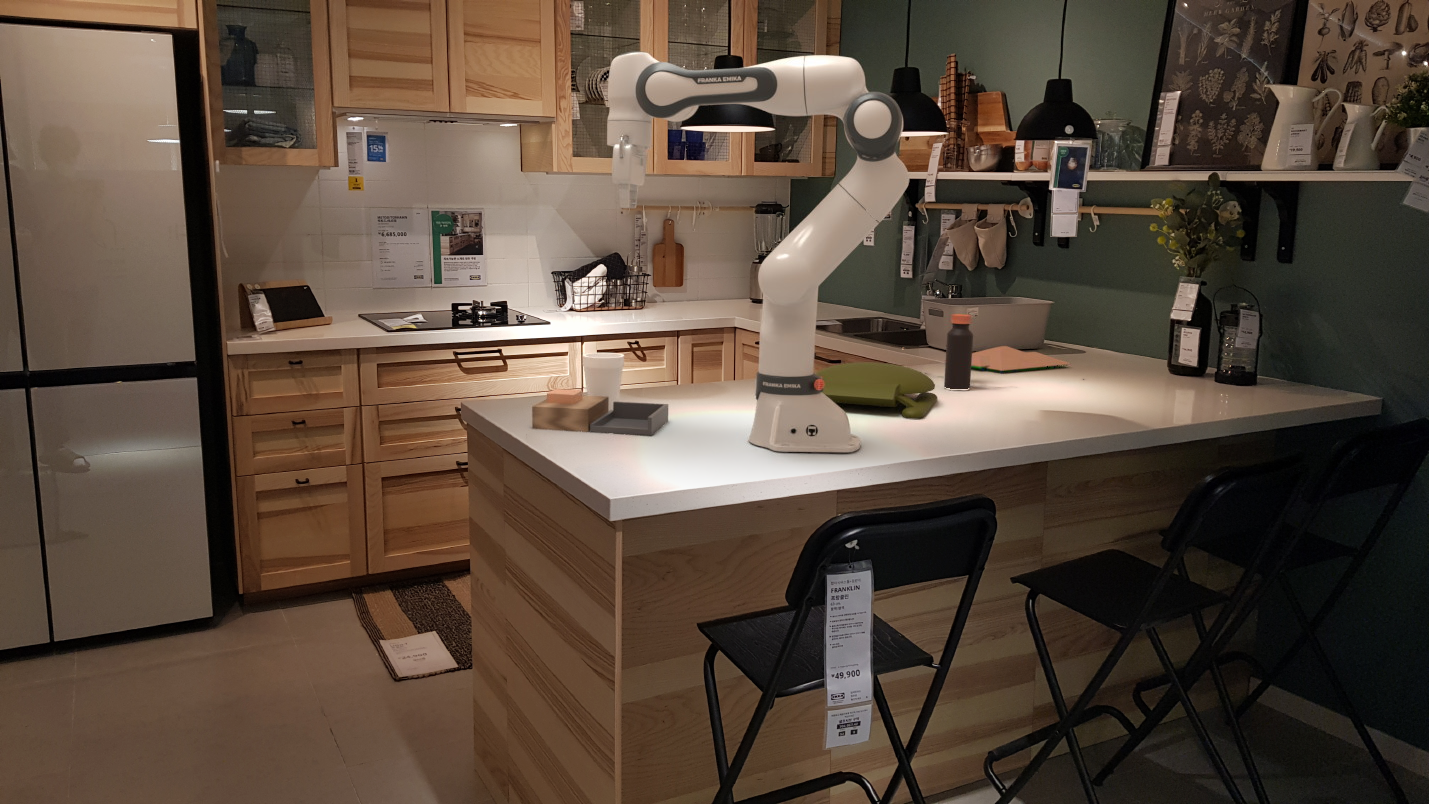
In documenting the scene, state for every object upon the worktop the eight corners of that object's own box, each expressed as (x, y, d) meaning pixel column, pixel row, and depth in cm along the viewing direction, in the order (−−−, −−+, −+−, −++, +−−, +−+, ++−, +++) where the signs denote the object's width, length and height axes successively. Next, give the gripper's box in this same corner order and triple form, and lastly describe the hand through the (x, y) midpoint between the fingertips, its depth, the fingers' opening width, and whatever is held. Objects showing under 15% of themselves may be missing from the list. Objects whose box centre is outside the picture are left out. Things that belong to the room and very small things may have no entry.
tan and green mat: (936, 371, 325) (937, 344, 323) (1010, 364, 343) (1012, 339, 341) (994, 382, 306) (996, 353, 305) (1070, 374, 324) (1072, 347, 323)
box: (668, 422, 236) (668, 404, 236) (651, 436, 221) (651, 417, 220) (610, 419, 238) (610, 401, 238) (590, 433, 223) (590, 414, 222)
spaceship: (922, 422, 245) (924, 379, 243) (790, 411, 255) (792, 370, 253) (941, 398, 278) (943, 360, 276) (824, 389, 287) (826, 352, 286)
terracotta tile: (582, 399, 234) (582, 390, 233) (574, 404, 228) (574, 394, 227) (555, 398, 235) (555, 389, 234) (546, 402, 229) (546, 393, 228)
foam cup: (586, 415, 241) (586, 358, 239) (579, 408, 250) (579, 353, 248) (627, 414, 244) (628, 357, 242) (619, 407, 253) (620, 352, 251)
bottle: (972, 391, 285) (977, 316, 282) (946, 391, 285) (951, 315, 282) (966, 387, 292) (971, 314, 289) (941, 387, 292) (946, 313, 289)
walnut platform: (608, 418, 238) (608, 396, 238) (587, 433, 223) (587, 409, 222) (556, 416, 240) (556, 394, 240) (532, 430, 225) (532, 406, 224)
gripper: (637, 134, 203) (636, 208, 206) (651, 141, 223) (650, 208, 226) (604, 133, 204) (603, 207, 206) (621, 140, 224) (620, 207, 226)
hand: (628, 208), depth 216 cm, fingers open, 8 cm apart
